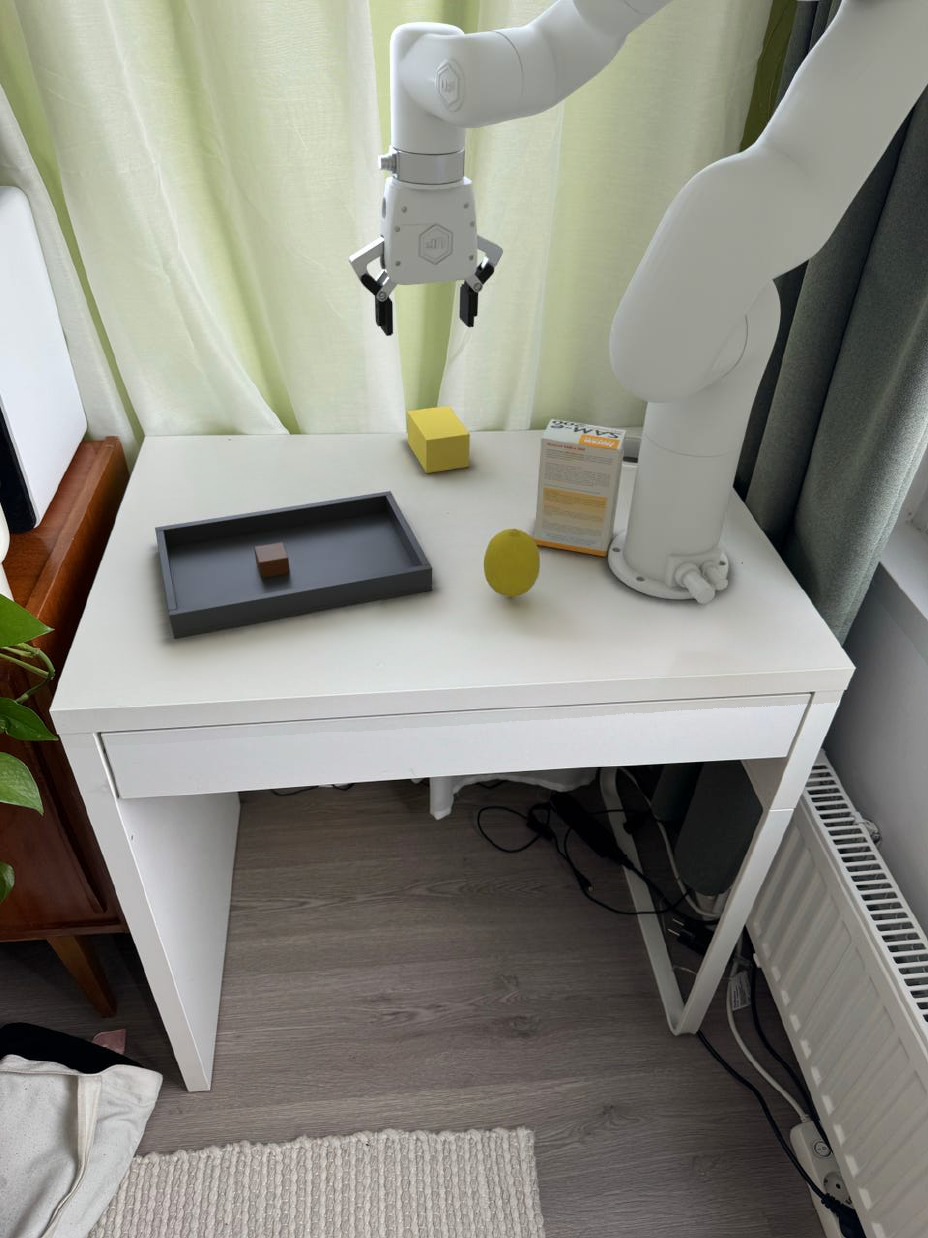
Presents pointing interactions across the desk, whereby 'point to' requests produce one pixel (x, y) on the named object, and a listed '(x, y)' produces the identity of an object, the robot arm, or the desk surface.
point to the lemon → (511, 562)
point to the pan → (318, 559)
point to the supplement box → (578, 486)
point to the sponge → (438, 439)
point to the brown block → (272, 560)
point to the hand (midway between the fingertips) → (426, 326)
